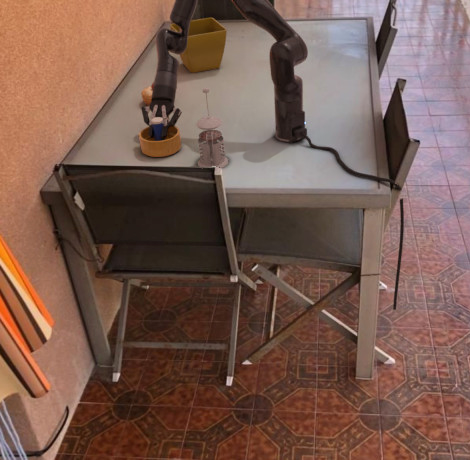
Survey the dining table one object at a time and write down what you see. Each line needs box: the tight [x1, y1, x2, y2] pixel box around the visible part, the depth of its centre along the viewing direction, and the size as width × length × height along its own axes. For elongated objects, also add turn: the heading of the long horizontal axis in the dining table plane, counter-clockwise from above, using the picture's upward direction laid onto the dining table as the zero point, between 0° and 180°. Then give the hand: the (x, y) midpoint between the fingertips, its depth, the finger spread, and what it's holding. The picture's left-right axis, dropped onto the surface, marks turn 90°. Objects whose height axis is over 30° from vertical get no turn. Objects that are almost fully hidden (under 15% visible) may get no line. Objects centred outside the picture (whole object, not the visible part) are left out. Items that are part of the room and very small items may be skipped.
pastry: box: [140, 81, 154, 106], centre depth 247 cm, size 12×12×9 cm
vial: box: [150, 117, 165, 141], centre depth 215 cm, size 4×4×10 cm
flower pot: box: [169, 17, 228, 74], centre depth 274 cm, size 19×19×17 cm
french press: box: [195, 87, 229, 169], centre depth 201 cm, size 10×12×25 cm
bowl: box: [138, 125, 182, 158], centre depth 216 cm, size 13×13×6 cm
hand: (157, 137), depth 213 cm, fingers closed on vial, 3 cm apart
